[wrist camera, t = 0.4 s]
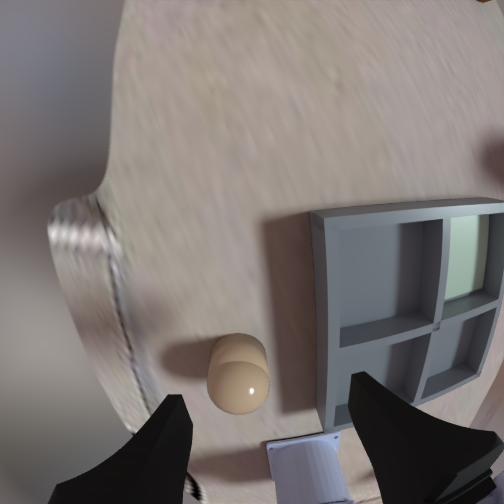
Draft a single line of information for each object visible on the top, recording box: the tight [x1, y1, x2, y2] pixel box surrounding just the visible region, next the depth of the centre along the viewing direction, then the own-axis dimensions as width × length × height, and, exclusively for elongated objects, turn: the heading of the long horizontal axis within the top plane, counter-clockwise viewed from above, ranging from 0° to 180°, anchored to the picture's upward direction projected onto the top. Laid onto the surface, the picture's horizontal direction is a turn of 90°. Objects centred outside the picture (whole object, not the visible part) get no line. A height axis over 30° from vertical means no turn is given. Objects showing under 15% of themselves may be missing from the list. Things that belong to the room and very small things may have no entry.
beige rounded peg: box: [207, 333, 270, 415], centre depth 19 cm, size 4×4×6 cm
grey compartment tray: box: [309, 198, 504, 434], centre depth 19 cm, size 18×18×4 cm
